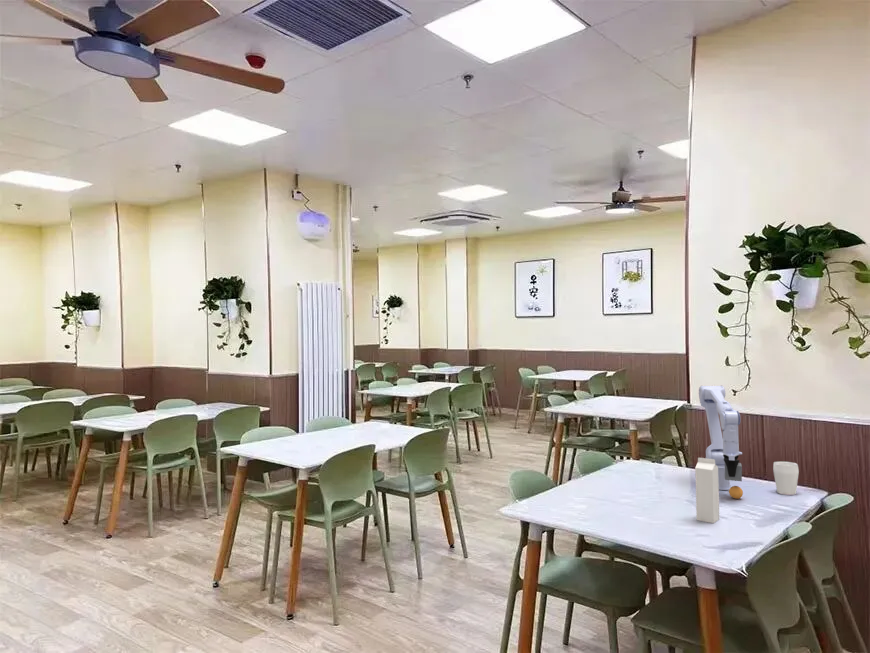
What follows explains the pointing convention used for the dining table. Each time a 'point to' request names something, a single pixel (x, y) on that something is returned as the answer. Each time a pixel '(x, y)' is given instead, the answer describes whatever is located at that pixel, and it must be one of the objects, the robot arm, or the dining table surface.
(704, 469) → the milk
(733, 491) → the ball
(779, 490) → the cup
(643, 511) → the dining table surface
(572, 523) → the dining table surface
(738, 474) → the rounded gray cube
